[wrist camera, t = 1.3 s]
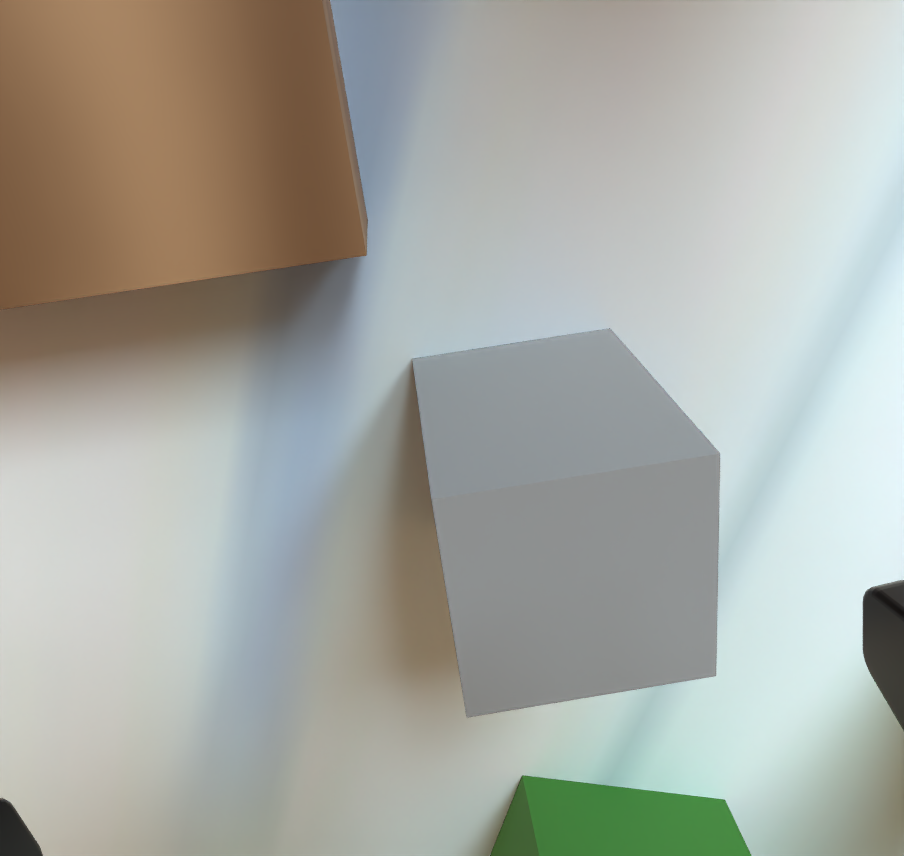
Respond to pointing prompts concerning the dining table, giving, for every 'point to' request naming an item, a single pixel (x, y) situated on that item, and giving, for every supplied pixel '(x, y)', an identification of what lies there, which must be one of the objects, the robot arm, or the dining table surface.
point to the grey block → (569, 521)
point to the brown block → (170, 144)
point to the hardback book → (614, 822)
